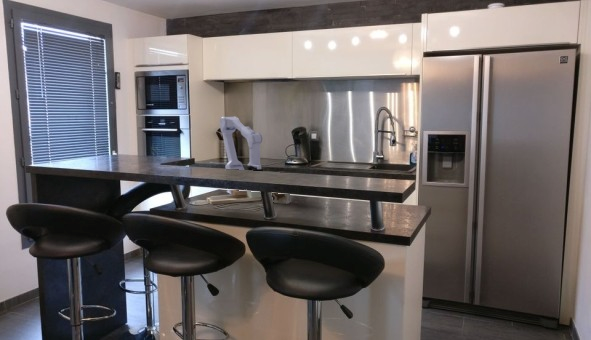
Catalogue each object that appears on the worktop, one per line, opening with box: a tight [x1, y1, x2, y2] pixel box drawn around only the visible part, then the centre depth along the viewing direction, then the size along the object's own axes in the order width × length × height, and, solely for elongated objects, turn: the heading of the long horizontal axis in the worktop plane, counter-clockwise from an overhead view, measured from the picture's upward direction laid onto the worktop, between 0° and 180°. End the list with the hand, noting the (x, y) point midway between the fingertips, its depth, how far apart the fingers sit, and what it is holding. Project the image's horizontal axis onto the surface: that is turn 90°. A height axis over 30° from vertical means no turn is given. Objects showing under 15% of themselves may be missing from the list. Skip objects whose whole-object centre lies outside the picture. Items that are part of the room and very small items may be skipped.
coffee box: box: [271, 170, 292, 205], centre depth 236 cm, size 9×6×16 cm
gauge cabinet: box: [246, 190, 261, 198], centre depth 246 cm, size 8×7×4 cm
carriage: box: [230, 190, 247, 198], centre depth 242 cm, size 6×7×7 cm
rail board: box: [206, 194, 262, 205], centre depth 242 cm, size 10×30×3 cm, turn 115°
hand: (255, 180), depth 245 cm, fingers open, 6 cm apart
